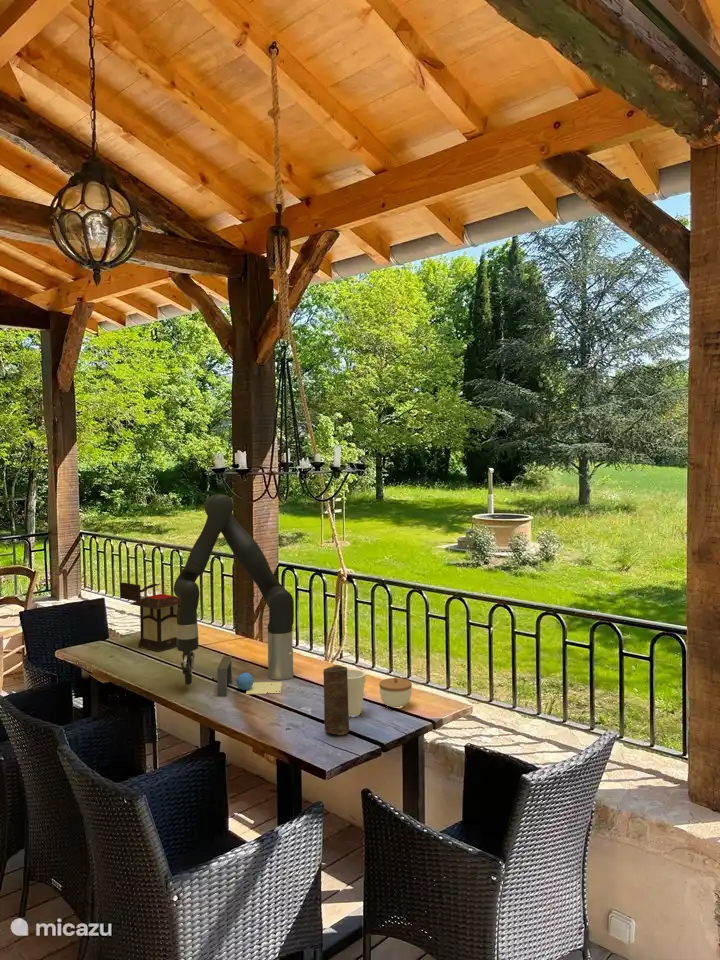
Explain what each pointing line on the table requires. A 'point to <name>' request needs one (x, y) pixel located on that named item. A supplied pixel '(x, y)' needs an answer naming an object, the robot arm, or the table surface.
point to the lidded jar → (395, 691)
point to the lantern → (154, 616)
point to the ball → (245, 681)
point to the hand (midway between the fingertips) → (188, 683)
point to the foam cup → (355, 690)
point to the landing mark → (265, 688)
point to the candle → (336, 700)
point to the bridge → (224, 675)
